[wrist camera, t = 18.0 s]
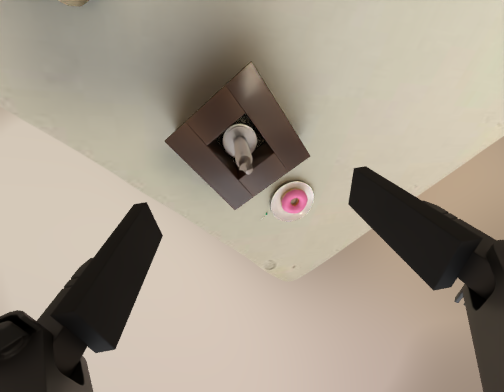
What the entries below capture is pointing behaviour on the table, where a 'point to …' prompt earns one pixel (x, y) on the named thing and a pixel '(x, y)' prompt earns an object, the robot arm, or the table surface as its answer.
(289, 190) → the donut
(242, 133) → the screw
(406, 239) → the robot arm
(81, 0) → the decorative mushroom
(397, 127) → the table surface
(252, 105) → the holder
